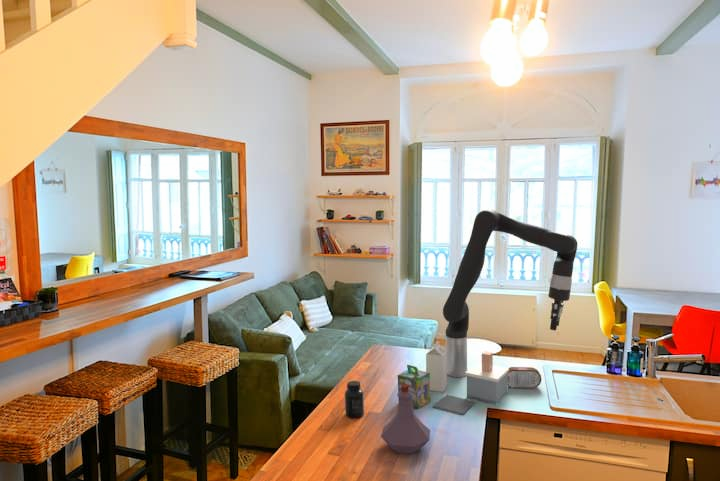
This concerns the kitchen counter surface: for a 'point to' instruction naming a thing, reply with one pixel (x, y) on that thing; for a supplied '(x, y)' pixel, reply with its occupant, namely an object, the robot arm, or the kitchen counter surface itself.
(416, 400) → the green handled carton
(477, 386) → the box
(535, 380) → the tin
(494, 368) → the lid
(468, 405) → the mat
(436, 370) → the milk carton
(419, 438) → the flask
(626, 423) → the kitchen counter surface
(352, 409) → the supplement bottle
